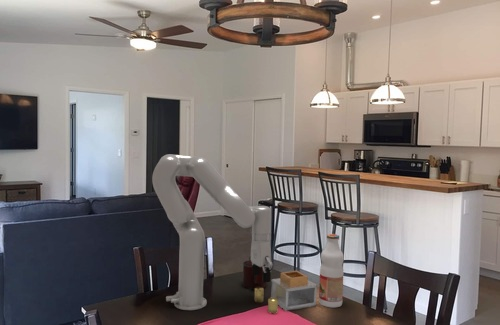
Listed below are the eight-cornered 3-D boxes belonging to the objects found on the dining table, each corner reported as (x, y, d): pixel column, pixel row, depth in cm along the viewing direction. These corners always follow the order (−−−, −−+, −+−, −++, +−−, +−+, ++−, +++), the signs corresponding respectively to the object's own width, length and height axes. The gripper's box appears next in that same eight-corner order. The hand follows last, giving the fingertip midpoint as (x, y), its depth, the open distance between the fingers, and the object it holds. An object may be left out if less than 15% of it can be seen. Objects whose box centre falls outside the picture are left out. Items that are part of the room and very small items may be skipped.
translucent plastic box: (285, 310, 153) (286, 281, 153) (270, 299, 164) (271, 272, 164) (316, 305, 159) (317, 277, 159) (299, 295, 170) (300, 268, 170)
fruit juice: (337, 310, 156) (340, 238, 154) (315, 304, 161) (317, 235, 160) (345, 302, 163) (348, 234, 162) (324, 297, 169) (326, 231, 167)
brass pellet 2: (270, 314, 150) (271, 301, 149) (266, 310, 153) (266, 297, 153) (279, 313, 151) (279, 300, 151) (274, 309, 154) (275, 296, 154)
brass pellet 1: (256, 302, 160) (257, 290, 160) (252, 299, 164) (253, 287, 164) (264, 301, 162) (265, 289, 162) (260, 298, 165) (261, 286, 165)
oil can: (271, 292, 172) (273, 235, 171) (246, 293, 170) (248, 235, 169) (257, 272, 200) (259, 222, 199) (236, 273, 198) (237, 223, 197)
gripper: (244, 233, 168) (244, 273, 169) (262, 242, 152) (262, 286, 153) (260, 231, 171) (260, 271, 172) (279, 240, 156) (279, 283, 156)
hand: (261, 278), depth 163 cm, fingers open, 9 cm apart
